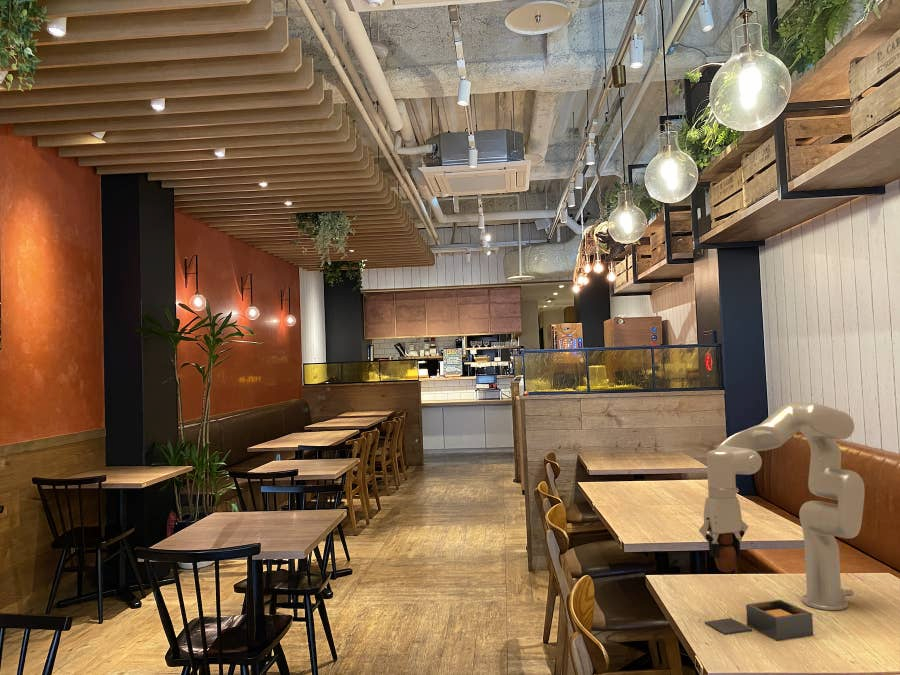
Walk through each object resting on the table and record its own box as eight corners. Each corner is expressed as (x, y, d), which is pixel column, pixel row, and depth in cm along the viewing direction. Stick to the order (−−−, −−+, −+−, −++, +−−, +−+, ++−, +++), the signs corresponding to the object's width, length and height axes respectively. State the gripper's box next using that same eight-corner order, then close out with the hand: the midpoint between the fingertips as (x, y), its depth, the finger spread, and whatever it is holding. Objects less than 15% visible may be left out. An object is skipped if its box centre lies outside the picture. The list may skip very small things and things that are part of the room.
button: (780, 614, 199) (780, 608, 199) (798, 622, 192) (798, 617, 192) (759, 617, 197) (759, 611, 197) (777, 626, 190) (777, 620, 190)
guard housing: (781, 620, 202) (780, 599, 202) (813, 635, 190) (812, 613, 191) (747, 625, 199) (746, 604, 199) (776, 640, 187) (775, 618, 187)
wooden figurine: (739, 574, 194) (736, 520, 195) (717, 573, 196) (715, 520, 196) (734, 567, 201) (731, 515, 202) (713, 566, 202) (710, 515, 203)
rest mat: (731, 620, 203) (731, 618, 203) (752, 631, 195) (752, 628, 195) (704, 623, 201) (704, 621, 201) (724, 635, 192) (724, 632, 192)
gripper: (738, 488, 205) (741, 549, 205) (688, 493, 201) (691, 555, 200) (756, 493, 198) (759, 555, 197) (704, 497, 194) (707, 562, 193)
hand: (724, 555), depth 199 cm, fingers closed on wooden figurine, 6 cm apart
